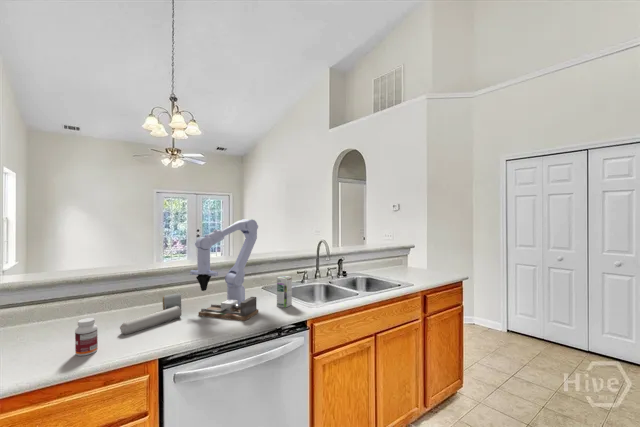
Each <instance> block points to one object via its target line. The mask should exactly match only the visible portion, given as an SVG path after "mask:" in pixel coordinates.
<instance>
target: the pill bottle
mask: <svg viewBox="0 0 640 427" xmlns="http://www.w3.org/2000/svg"><path fill="white" fill-rule="evenodd" d="M95 320H96V319H95V318H94V317H87V318H82V319H79V320H78V321H77V326H78V327H76V328H75V331H74V337H75V338H74V339H75V341H74V343H75V345H74V346H75V347H74V349H75V355H76V356H81V357H83V356H89V355H92V354H94V353H96V352H97V351H98V348H99V346H98V341H99V340H98V338H99V337H98V335H99V334H98V325H97V324H95V322H96V321H95Z"/></svg>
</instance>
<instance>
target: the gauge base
mask: <svg viewBox="0 0 640 427" xmlns="http://www.w3.org/2000/svg"><path fill="white" fill-rule="evenodd" d="M221 311H222V310H221V304H218V303H217V304H216V303H211V304H210V306H209V307H207V308H201V309H200V311H199V312H198V313H197V314H198V316H199V317H209V318H217V319H225V320H226V319H227V320H235V321H243V322H245V321H247V320H249V319H250V318H252V317H254V316H256V315H257V314H259V309H258V308H257V297H256V296H250V297H248V298H247V299H246V298H245V300H244V301H242V302H240V309H237V310H235V311H233V312H232V311H223V312H221Z"/></svg>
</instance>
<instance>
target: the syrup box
mask: <svg viewBox="0 0 640 427" xmlns="http://www.w3.org/2000/svg"><path fill="white" fill-rule="evenodd" d="M292 280H293V278H292V276H286V275H280V276H278V277H276V307H280V308H285V309H286V308H288V307H290V306H292V304H293V301H292V300H293V295H292V294H293V283H292V282H293V281H292Z"/></svg>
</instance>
